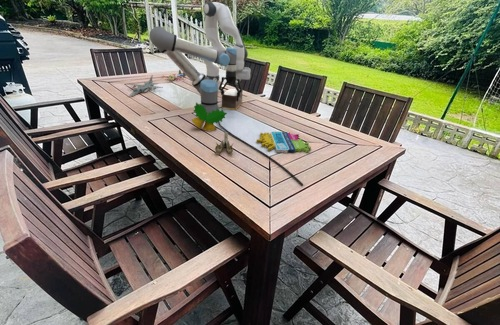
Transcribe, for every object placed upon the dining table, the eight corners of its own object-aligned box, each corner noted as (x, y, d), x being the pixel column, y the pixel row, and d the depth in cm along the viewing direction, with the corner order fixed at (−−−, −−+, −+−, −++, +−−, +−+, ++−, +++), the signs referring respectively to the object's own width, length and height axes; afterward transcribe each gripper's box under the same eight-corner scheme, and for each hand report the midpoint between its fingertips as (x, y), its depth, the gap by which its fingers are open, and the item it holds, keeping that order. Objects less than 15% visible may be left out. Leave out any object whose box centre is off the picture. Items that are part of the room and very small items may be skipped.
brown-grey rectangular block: (229, 101, 219) (229, 88, 214) (241, 103, 217) (242, 90, 212) (221, 108, 202) (221, 94, 197) (235, 109, 200) (235, 96, 195)
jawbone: (234, 135, 144) (233, 125, 135) (233, 160, 138) (232, 151, 129) (217, 135, 144) (216, 125, 135) (216, 160, 138) (214, 150, 129)
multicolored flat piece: (313, 150, 142) (258, 149, 139) (312, 153, 143) (258, 152, 140) (301, 132, 164) (254, 130, 161) (301, 134, 165) (254, 133, 162)
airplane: (123, 86, 237) (121, 75, 232) (158, 84, 251) (157, 74, 246) (127, 99, 209) (125, 86, 204) (167, 96, 222) (166, 84, 217)
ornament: (218, 133, 171) (224, 110, 169) (221, 134, 163) (227, 111, 161) (186, 125, 162) (192, 101, 160) (189, 126, 155) (195, 101, 153)
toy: (194, 71, 288) (181, 75, 262) (194, 77, 291) (182, 82, 265) (171, 68, 293) (156, 72, 267) (171, 75, 296) (157, 79, 270)
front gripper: (247, 71, 192) (246, 100, 203) (217, 68, 196) (217, 97, 207) (245, 73, 186) (243, 103, 197) (214, 69, 190) (214, 99, 201)
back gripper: (251, 67, 210) (250, 84, 217) (227, 64, 213) (227, 81, 220) (250, 68, 205) (249, 86, 211) (225, 65, 208) (224, 83, 215)
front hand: (230, 100), depth 202 cm, fingers closed on brown-grey rectangular block, 11 cm apart
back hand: (237, 84), depth 216 cm, fingers closed
